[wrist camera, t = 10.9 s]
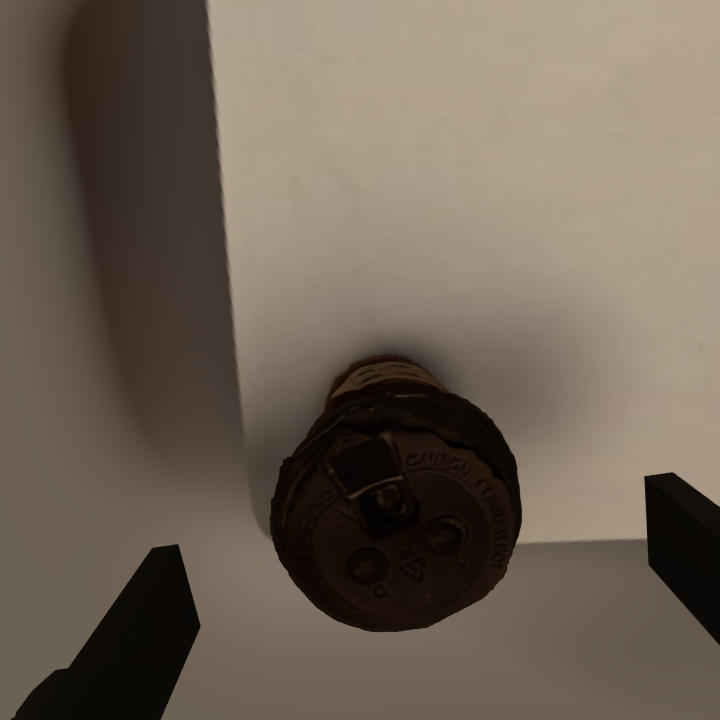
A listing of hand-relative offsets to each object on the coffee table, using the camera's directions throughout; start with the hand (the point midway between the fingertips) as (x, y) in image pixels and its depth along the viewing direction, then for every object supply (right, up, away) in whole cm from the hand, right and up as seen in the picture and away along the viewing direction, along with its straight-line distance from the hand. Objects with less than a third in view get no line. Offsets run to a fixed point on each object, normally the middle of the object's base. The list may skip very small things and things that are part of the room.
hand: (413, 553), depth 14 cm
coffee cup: (0, +3, +14) cm, 14 cm away
